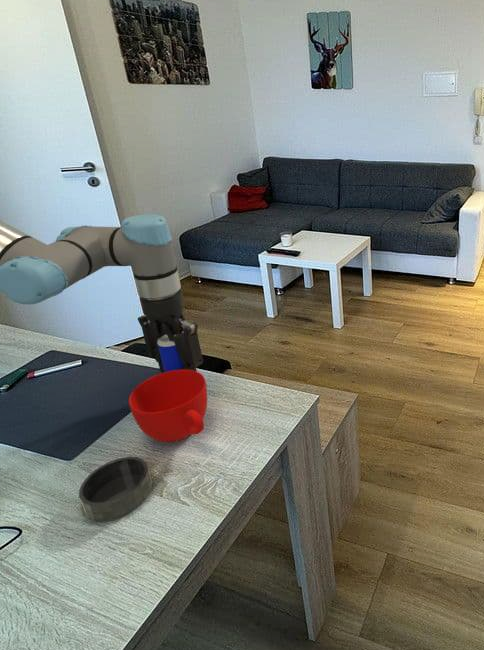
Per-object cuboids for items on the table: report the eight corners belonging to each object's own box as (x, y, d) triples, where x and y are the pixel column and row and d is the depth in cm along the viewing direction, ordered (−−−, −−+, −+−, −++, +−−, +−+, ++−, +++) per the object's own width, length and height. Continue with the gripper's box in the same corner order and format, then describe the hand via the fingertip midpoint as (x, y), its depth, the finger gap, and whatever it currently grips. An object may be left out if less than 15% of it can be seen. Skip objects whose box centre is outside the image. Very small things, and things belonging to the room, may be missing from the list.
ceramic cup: (172, 478, 75) (160, 434, 71) (128, 435, 84) (115, 393, 80) (238, 434, 84) (231, 393, 81) (192, 400, 94) (183, 361, 90)
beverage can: (187, 384, 99) (174, 327, 93) (201, 392, 96) (189, 333, 91) (165, 396, 95) (151, 337, 89) (179, 405, 92) (165, 345, 86)
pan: (71, 512, 69) (64, 494, 67) (124, 467, 77) (119, 450, 75) (115, 531, 66) (108, 513, 64) (165, 483, 74) (160, 465, 72)
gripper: (211, 292, 87) (227, 387, 95) (142, 279, 92) (164, 369, 101) (181, 308, 80) (202, 408, 89) (109, 293, 85) (136, 389, 94)
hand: (182, 387), depth 95 cm, fingers closed on beverage can, 5 cm apart
